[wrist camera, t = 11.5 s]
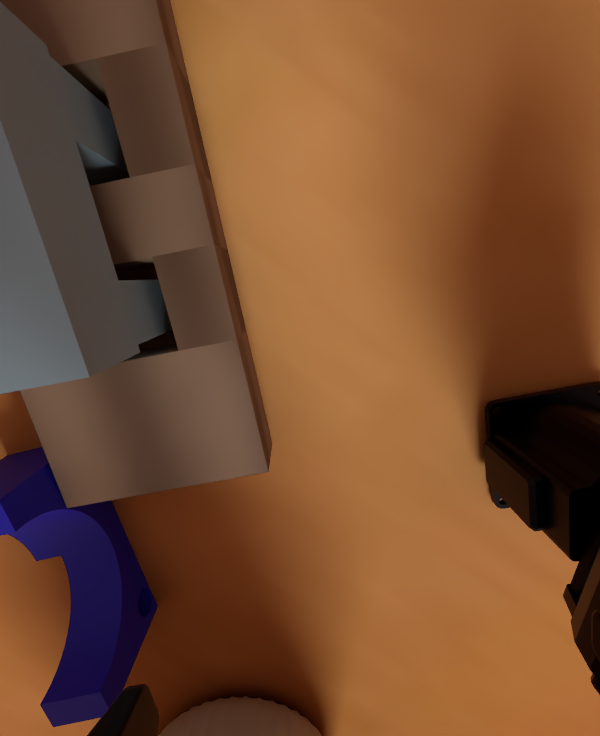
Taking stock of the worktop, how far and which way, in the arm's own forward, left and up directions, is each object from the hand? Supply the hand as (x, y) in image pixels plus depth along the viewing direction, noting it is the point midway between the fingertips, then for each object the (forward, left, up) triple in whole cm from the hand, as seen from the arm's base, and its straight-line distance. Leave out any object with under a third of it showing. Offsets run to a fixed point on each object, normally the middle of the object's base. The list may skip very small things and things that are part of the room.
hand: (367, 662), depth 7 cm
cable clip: (+15, +5, -13) cm, 21 cm away
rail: (+8, -11, -13) cm, 19 cm away
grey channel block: (+8, -11, -13) cm, 19 cm away
